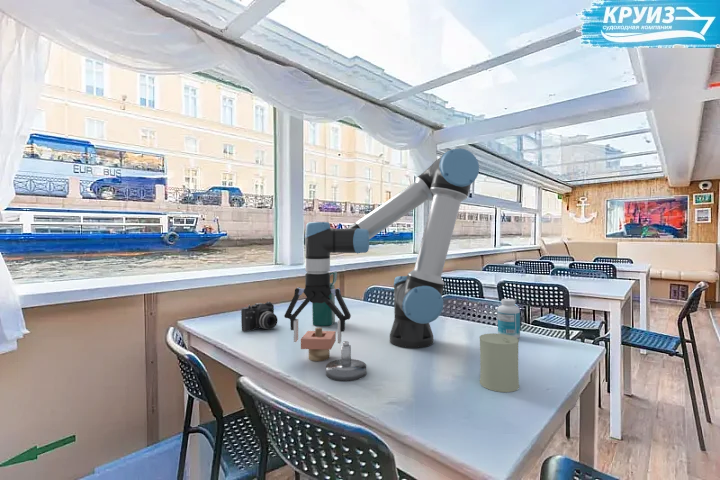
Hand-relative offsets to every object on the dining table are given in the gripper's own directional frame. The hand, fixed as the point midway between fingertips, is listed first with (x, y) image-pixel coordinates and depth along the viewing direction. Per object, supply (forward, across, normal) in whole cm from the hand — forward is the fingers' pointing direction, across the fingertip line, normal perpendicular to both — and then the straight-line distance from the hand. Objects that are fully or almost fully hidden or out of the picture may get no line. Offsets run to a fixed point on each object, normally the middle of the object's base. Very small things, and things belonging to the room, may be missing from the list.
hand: (317, 341), depth 112 cm
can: (+4, -49, +17) cm, 52 cm away
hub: (+5, -10, +12) cm, 17 cm away
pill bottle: (+4, -64, -25) cm, 69 cm away
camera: (+6, +30, -33) cm, 45 cm away
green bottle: (+5, +6, -42) cm, 43 cm away
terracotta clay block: (+1, 0, 0) cm, 1 cm away
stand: (+5, 0, 0) cm, 5 cm away
